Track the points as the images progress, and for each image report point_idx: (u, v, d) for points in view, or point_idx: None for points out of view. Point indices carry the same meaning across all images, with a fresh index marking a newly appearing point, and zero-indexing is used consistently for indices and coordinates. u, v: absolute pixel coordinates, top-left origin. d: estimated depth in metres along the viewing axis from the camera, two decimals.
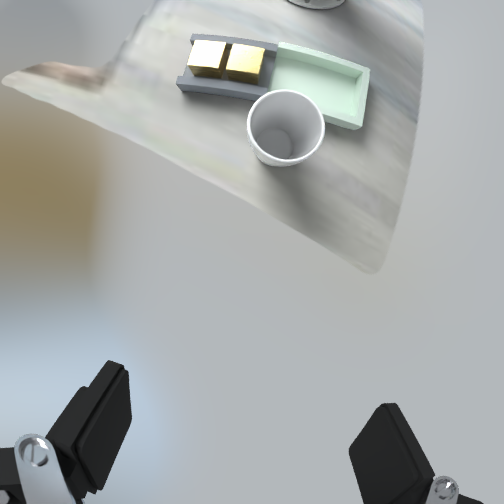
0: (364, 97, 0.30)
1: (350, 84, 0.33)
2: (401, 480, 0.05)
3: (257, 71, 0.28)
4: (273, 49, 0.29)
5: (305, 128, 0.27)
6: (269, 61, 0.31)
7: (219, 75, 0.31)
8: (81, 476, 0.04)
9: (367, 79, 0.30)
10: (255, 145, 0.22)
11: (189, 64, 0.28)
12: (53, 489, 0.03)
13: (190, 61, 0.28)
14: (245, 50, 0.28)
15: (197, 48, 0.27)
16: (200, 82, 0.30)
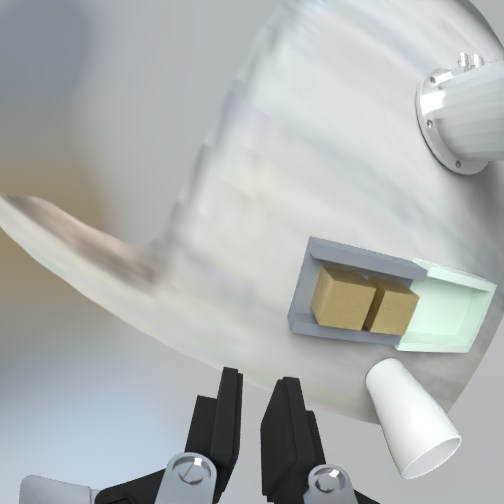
0: (481, 322, 0.24)
1: (470, 292, 0.27)
2: (282, 458, 0.06)
3: (404, 332, 0.22)
4: (421, 278, 0.23)
5: None
6: (406, 282, 0.25)
7: None
8: None
9: (490, 299, 0.24)
10: (403, 477, 0.16)
11: (321, 323, 0.22)
12: None
13: (323, 319, 0.22)
14: (398, 301, 0.22)
15: (335, 297, 0.21)
16: (326, 333, 0.24)
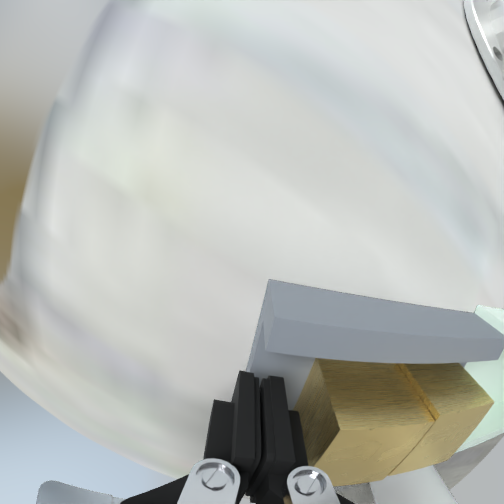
0: None
1: None
2: (262, 458, 0.06)
3: (449, 456, 0.08)
4: (495, 355, 0.09)
5: None
6: None
7: None
8: None
9: None
10: None
11: None
12: None
13: None
14: (458, 422, 0.07)
15: (340, 454, 0.07)
16: None
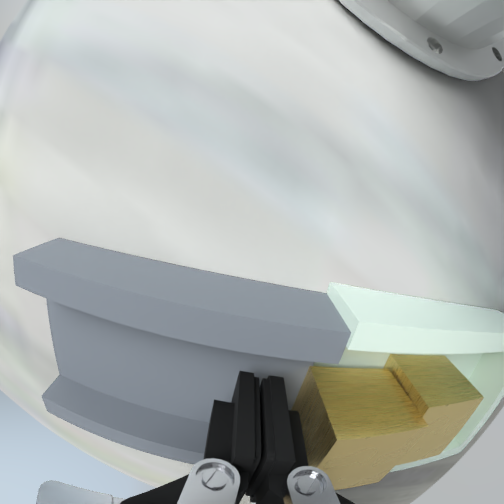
0: (495, 406, 0.09)
1: None
2: (262, 458, 0.06)
3: (441, 450, 0.08)
4: (326, 355, 0.08)
5: None
6: None
7: None
8: None
9: None
10: None
11: None
12: None
13: None
14: (447, 416, 0.08)
15: (337, 461, 0.07)
16: (99, 431, 0.09)
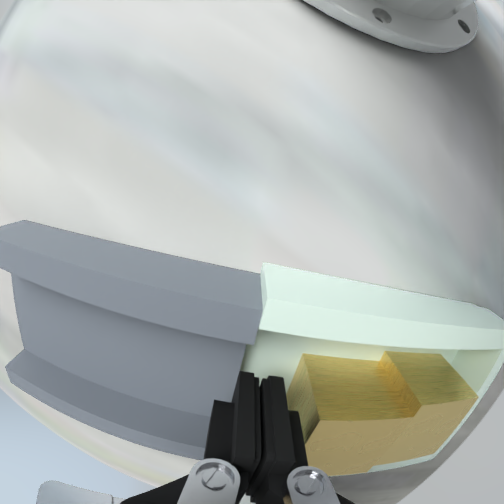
0: (470, 411, 0.09)
1: None
2: (262, 458, 0.06)
3: (435, 450, 0.09)
4: (239, 333, 0.08)
5: None
6: None
7: None
8: None
9: (499, 365, 0.08)
10: None
11: None
12: None
13: None
14: (441, 415, 0.08)
15: (322, 444, 0.08)
16: (51, 402, 0.09)
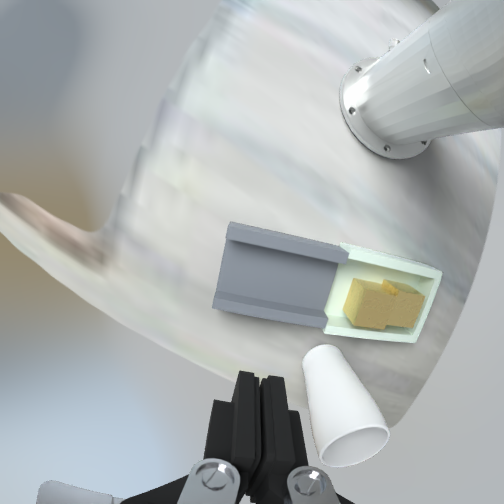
0: (427, 311, 0.28)
1: (414, 280, 0.30)
2: (262, 458, 0.06)
3: (412, 325, 0.27)
4: (341, 260, 0.26)
5: None
6: (331, 266, 0.29)
7: None
8: None
9: (436, 287, 0.27)
10: (324, 464, 0.18)
11: (355, 324, 0.27)
12: None
13: (357, 321, 0.27)
14: (409, 299, 0.26)
15: (367, 303, 0.26)
16: (245, 310, 0.27)
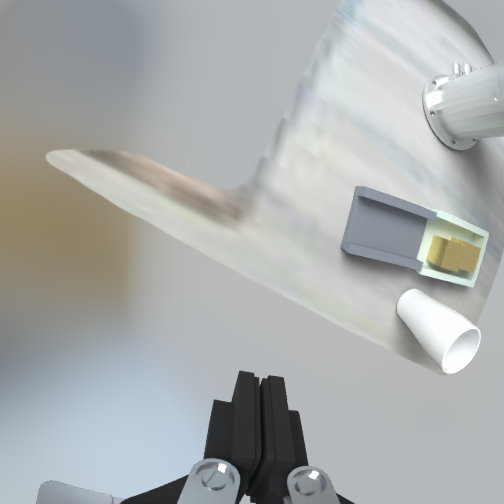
0: (480, 261, 0.33)
1: (469, 240, 0.35)
2: (262, 458, 0.06)
3: (473, 270, 0.32)
4: (432, 218, 0.32)
5: None
6: (422, 223, 0.34)
7: None
8: None
9: (485, 243, 0.32)
10: (442, 368, 0.24)
11: (441, 266, 0.32)
12: None
13: (442, 263, 0.32)
14: (471, 249, 0.31)
15: (448, 250, 0.31)
16: (372, 254, 0.33)
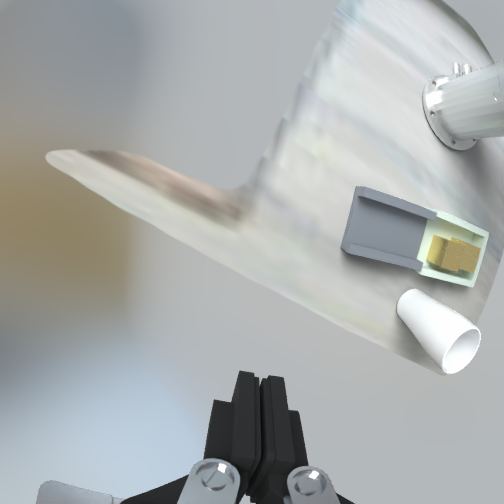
0: (480, 262, 0.33)
1: (469, 240, 0.35)
2: (262, 458, 0.06)
3: (473, 270, 0.32)
4: (432, 218, 0.32)
5: None
6: (422, 224, 0.34)
7: None
8: None
9: (485, 244, 0.32)
10: (443, 368, 0.24)
11: (441, 266, 0.32)
12: None
13: (442, 264, 0.32)
14: (471, 249, 0.31)
15: (448, 250, 0.31)
16: (372, 254, 0.33)
